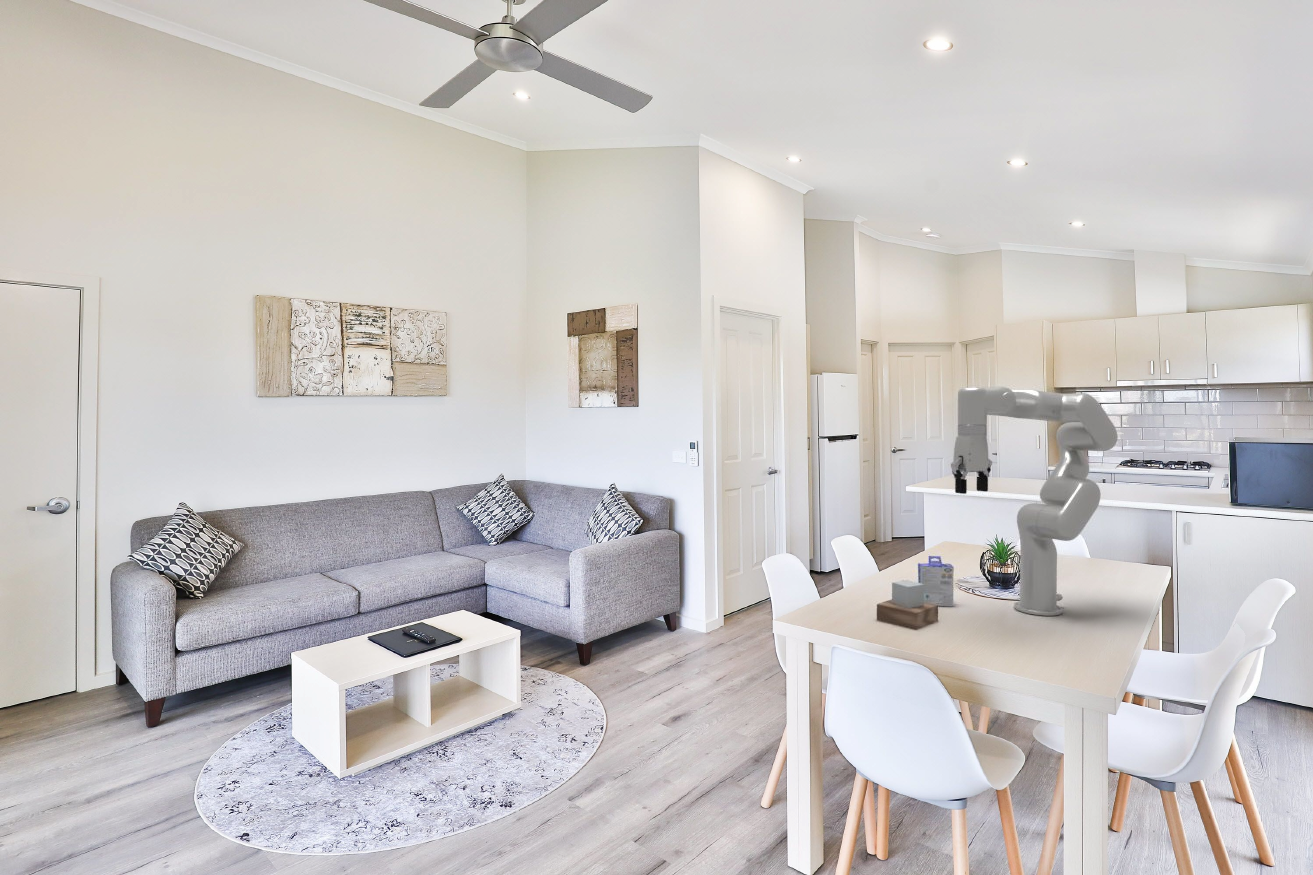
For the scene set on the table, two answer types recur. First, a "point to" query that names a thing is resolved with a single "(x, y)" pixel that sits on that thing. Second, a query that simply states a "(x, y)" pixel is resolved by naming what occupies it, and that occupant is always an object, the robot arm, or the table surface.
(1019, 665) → the table surface
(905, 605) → the grey block
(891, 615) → the walnut block
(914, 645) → the table surface
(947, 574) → the ink cartridge box
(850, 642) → the table surface
